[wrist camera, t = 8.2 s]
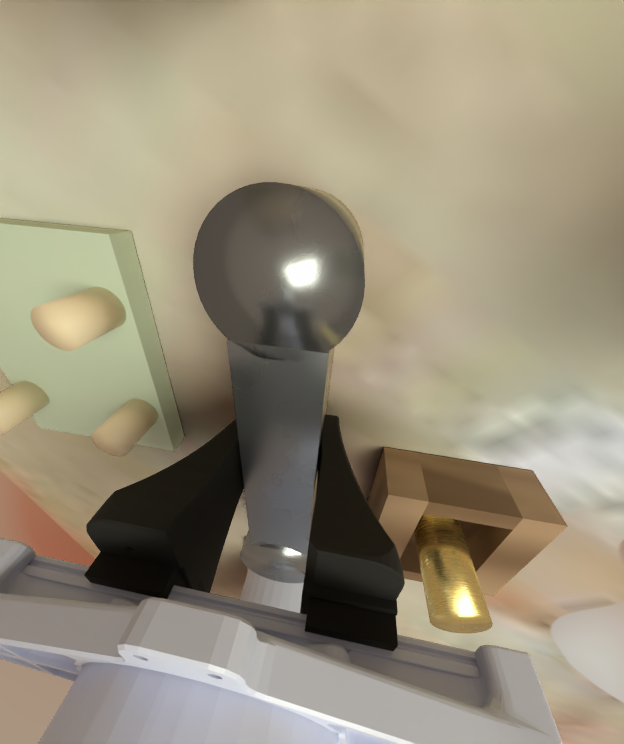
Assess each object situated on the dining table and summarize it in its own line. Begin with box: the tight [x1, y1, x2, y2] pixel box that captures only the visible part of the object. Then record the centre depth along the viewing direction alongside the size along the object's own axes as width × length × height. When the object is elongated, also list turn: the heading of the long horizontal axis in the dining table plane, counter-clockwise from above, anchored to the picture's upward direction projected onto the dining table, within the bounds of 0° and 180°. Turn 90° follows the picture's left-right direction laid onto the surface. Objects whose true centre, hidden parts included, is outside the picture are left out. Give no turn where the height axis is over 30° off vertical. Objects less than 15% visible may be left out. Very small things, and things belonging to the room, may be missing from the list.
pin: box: [414, 514, 492, 633], centre depth 15 cm, size 3×3×6 cm
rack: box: [0, 218, 184, 456], centre depth 14 cm, size 12×9×4 cm
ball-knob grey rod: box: [193, 182, 365, 583], centre depth 13 cm, size 20×4×5 cm, turn 177°
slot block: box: [367, 447, 567, 596], centre depth 16 cm, size 8×8×3 cm
